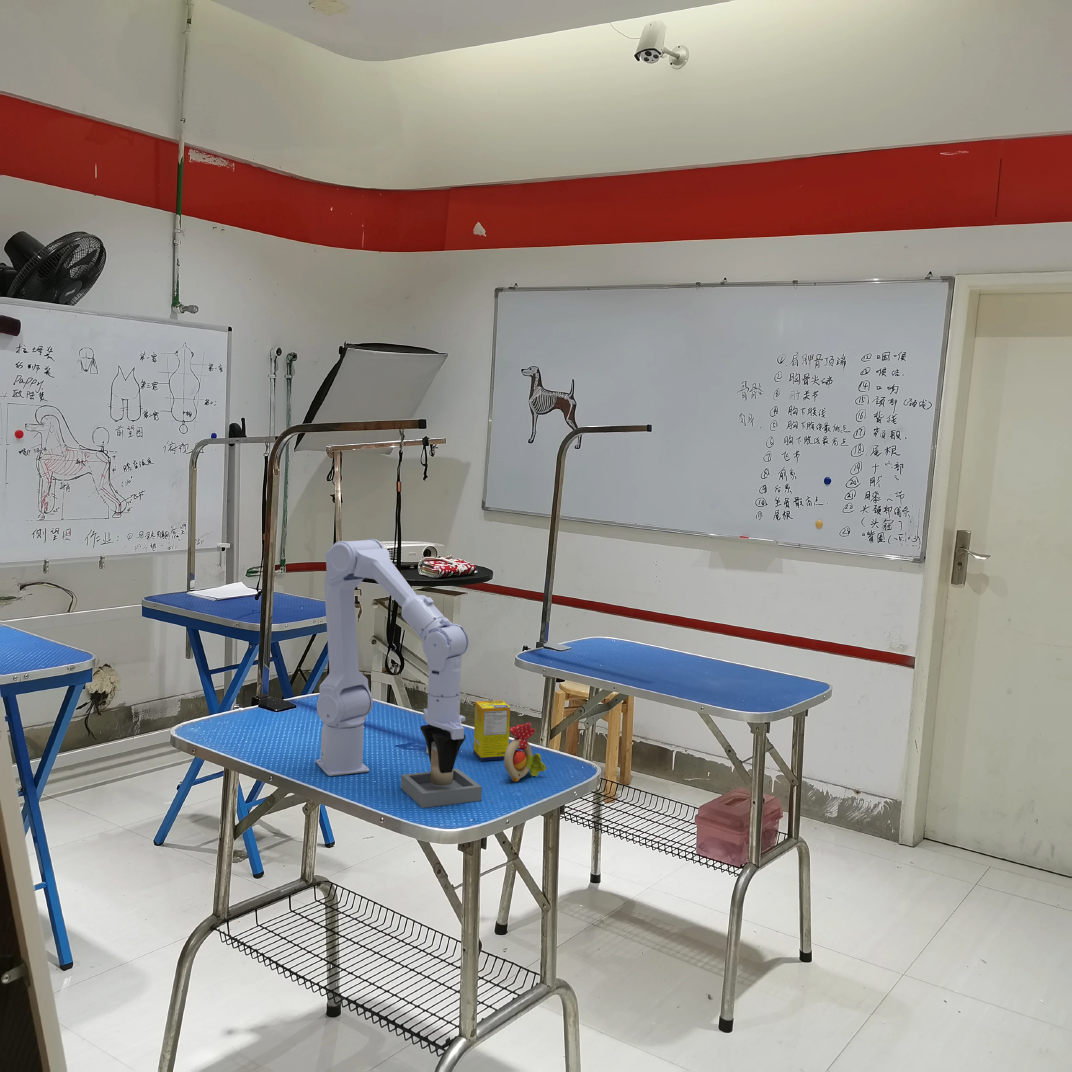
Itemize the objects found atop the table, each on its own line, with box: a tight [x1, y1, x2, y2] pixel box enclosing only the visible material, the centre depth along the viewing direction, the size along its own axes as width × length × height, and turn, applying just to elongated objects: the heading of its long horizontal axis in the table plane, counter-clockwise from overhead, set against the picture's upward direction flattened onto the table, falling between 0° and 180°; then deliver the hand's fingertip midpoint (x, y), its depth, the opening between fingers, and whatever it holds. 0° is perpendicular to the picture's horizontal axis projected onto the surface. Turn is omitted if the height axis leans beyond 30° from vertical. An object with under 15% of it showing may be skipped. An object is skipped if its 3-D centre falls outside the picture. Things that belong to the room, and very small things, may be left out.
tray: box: [400, 768, 483, 809], centre depth 179 cm, size 11×11×2 cm
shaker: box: [430, 741, 453, 785], centre depth 179 cm, size 4×4×7 cm
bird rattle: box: [503, 721, 548, 783], centre depth 190 cm, size 6×11×9 cm
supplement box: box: [473, 699, 511, 762], centre depth 203 cm, size 6×6×11 cm
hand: (441, 768), depth 179 cm, fingers closed on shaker, 4 cm apart
